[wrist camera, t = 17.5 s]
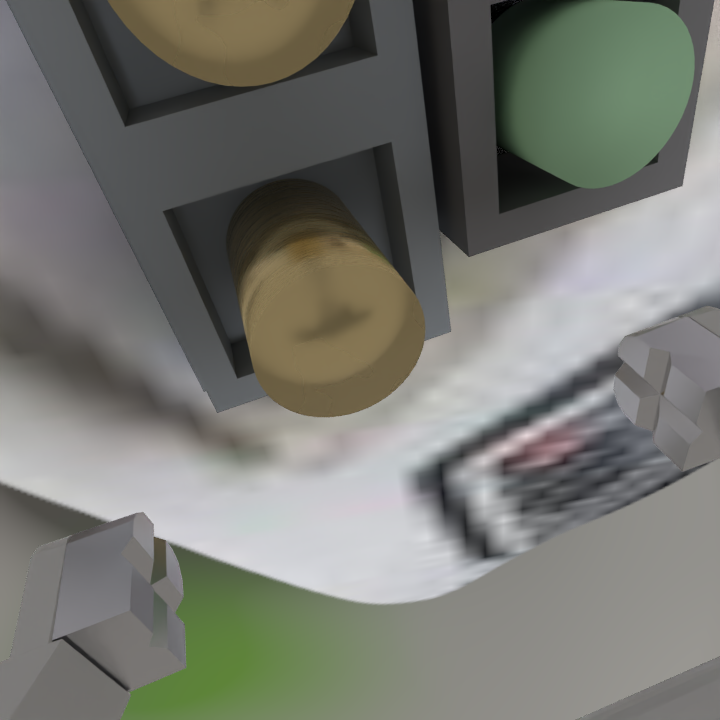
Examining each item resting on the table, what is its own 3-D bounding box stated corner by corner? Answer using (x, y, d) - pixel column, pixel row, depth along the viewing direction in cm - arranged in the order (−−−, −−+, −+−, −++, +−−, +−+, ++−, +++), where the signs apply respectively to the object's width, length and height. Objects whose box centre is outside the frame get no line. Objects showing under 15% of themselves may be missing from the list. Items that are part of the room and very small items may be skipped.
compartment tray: (-118, -274, 10) (-208, -354, 8) (337, -362, 11) (388, -459, 9) (201, 372, 20) (207, 429, 18) (429, 295, 21) (466, 338, 18)
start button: (461, 17, 15) (543, 29, 11) (595, -21, 15) (709, -19, 12) (472, 164, 17) (542, 208, 14) (586, 129, 17) (679, 162, 14)
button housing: (383, -37, 15) (444, -39, 11) (617, -98, 15) (734, -117, 12) (417, 209, 19) (469, 256, 16) (599, 152, 20) (682, 185, 16)
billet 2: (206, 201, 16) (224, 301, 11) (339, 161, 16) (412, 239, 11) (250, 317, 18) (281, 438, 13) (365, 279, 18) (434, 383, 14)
